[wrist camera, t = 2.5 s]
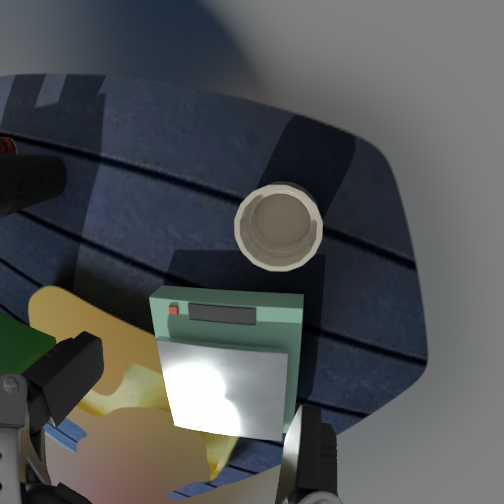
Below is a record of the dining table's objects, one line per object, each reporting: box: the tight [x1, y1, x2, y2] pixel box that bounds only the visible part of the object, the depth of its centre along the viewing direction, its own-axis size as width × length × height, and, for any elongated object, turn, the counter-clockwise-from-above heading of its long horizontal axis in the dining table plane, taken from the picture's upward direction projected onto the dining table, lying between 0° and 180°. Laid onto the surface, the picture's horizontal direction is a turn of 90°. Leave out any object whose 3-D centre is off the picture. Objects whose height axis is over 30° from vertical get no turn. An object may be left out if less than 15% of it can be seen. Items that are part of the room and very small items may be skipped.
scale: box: [149, 285, 304, 433], centre depth 30 cm, size 14×16×3 cm
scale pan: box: [156, 336, 289, 441], centre depth 28 cm, size 12×12×1 cm
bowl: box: [234, 181, 323, 271], centre depth 24 cm, size 6×6×5 cm
